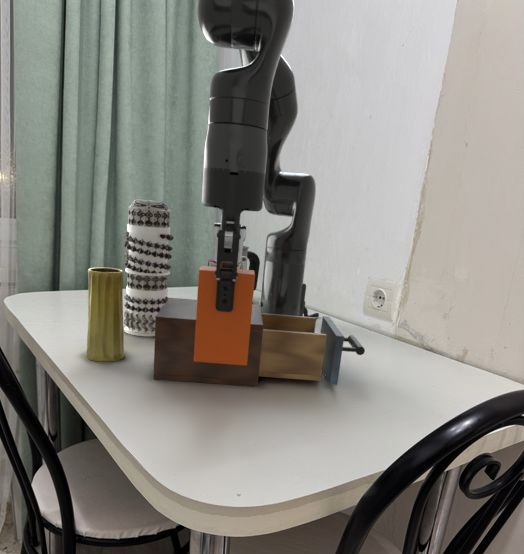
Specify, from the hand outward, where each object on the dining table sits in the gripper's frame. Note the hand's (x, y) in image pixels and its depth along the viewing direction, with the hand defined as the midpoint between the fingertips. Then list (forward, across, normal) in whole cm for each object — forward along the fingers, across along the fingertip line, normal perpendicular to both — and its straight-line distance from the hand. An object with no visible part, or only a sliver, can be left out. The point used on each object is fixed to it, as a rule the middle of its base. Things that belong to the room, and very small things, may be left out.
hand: (224, 306), depth 66 cm
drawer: (+12, -14, +13) cm, 22 cm away
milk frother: (+13, -75, -2) cm, 76 cm away
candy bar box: (+13, -29, 0) cm, 32 cm away
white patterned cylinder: (+13, -34, -16) cm, 39 cm away
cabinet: (+13, -14, -2) cm, 19 cm away
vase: (+13, -15, -19) cm, 28 cm away
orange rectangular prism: (+7, 0, 0) cm, 7 cm away
